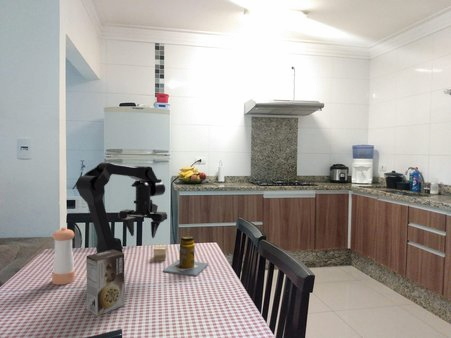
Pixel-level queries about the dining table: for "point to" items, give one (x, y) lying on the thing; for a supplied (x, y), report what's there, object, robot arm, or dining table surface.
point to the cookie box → (105, 281)
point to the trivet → (191, 272)
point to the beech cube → (160, 252)
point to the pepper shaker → (63, 257)
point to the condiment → (186, 254)
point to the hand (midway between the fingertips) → (142, 236)
